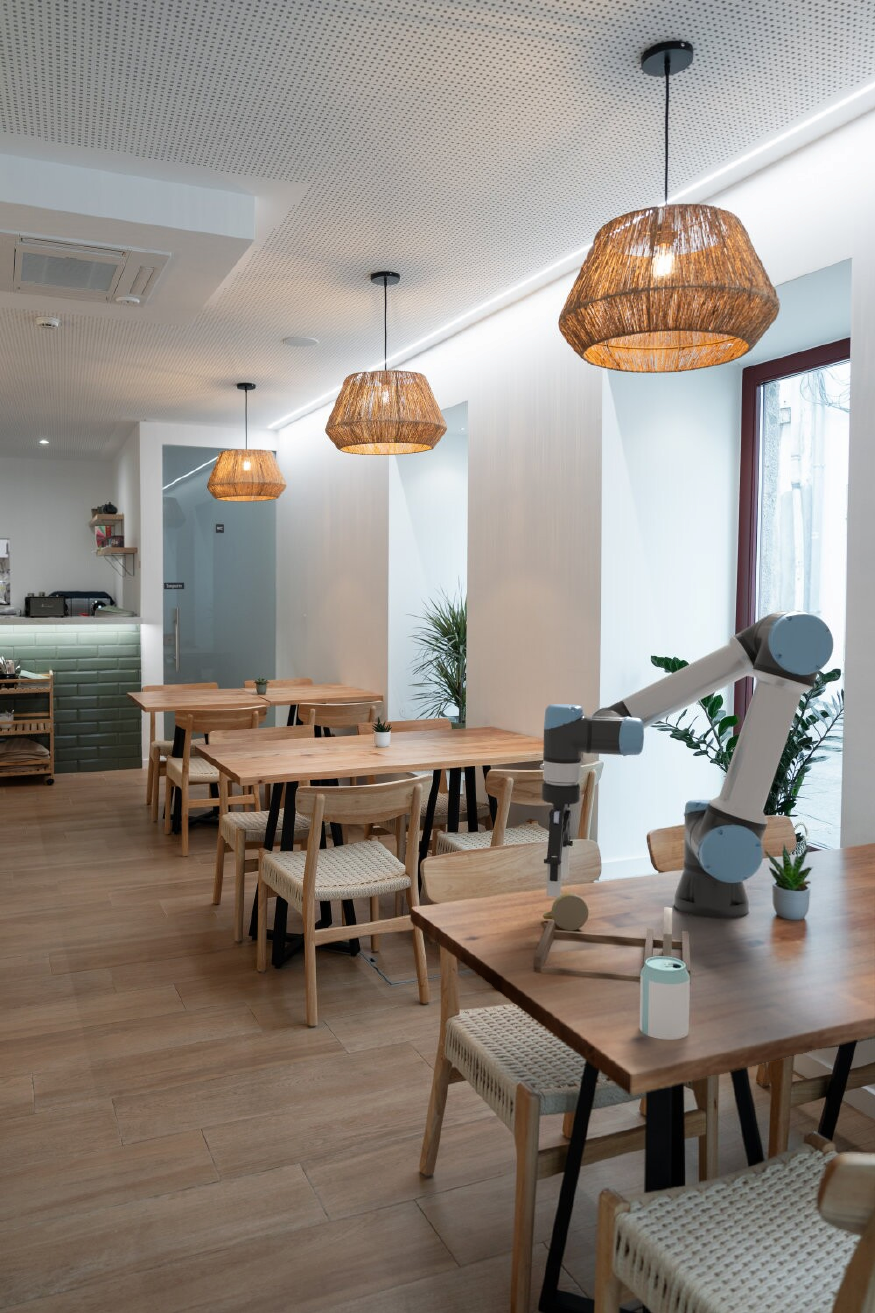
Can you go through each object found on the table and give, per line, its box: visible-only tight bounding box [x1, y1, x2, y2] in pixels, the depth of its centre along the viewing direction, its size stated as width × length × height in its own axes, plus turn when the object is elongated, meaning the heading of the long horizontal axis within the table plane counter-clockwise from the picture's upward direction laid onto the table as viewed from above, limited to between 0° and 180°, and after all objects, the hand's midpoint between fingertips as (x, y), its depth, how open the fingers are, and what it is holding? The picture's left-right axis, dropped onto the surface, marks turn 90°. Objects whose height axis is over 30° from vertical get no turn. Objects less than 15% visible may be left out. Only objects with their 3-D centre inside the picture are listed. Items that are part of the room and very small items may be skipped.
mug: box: [542, 893, 590, 932], centre depth 196 cm, size 8×10×10 cm
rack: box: [533, 906, 691, 982], centre depth 176 cm, size 26×20×9 cm
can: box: [639, 955, 691, 1041], centre depth 145 cm, size 7×7×12 cm
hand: (557, 887), depth 198 cm, fingers open, 13 cm apart
